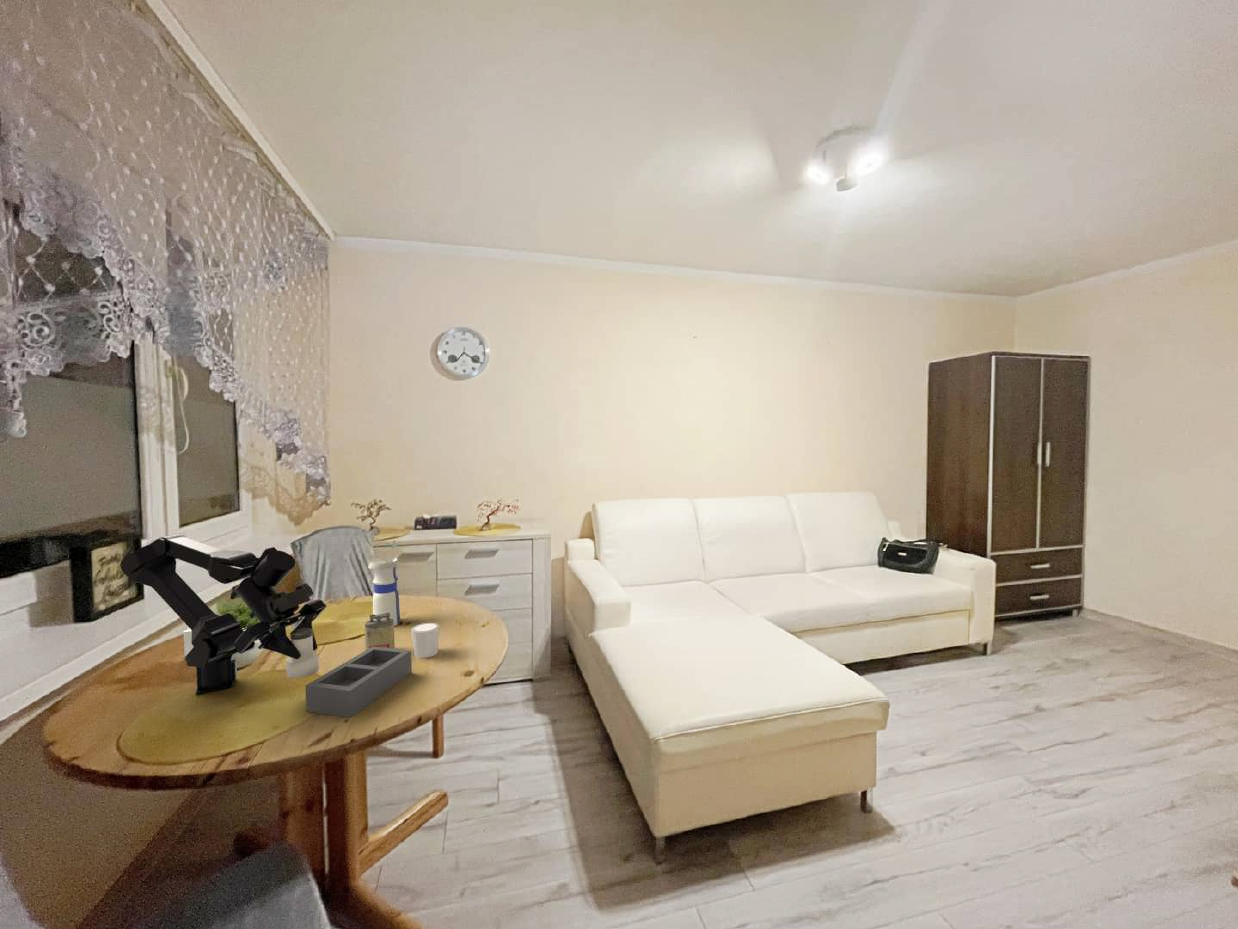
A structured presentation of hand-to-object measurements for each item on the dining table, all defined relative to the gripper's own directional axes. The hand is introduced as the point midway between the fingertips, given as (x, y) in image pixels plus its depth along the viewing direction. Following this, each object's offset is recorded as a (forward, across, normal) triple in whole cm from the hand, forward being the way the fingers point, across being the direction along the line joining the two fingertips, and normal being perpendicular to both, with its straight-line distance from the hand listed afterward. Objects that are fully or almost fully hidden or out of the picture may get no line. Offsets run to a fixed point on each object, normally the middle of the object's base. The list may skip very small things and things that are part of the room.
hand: (307, 653), depth 108 cm
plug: (+2, 0, +4) cm, 4 cm away
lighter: (+7, +24, +7) cm, 25 cm away
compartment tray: (+14, +4, 0) cm, 14 cm away
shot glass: (+16, +25, -2) cm, 29 cm away
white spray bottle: (-2, +41, +16) cm, 44 cm away
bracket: (-24, +16, +38) cm, 48 cm away
